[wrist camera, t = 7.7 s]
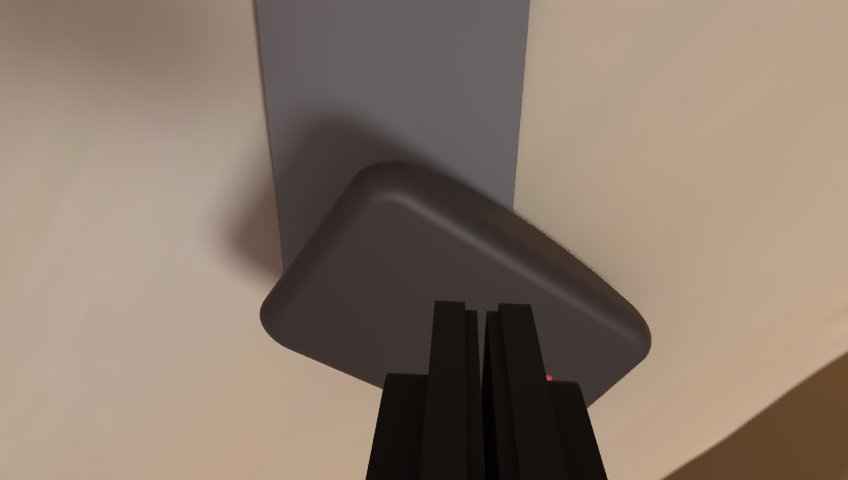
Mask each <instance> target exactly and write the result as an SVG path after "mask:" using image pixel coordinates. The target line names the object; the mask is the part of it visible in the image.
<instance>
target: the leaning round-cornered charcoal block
mask: <svg viewBox="0 0 848 480" xmlns="http://www.w3.org/2000/svg"><path fill="white" fill-rule="evenodd" d="M435 300H436V301H460V302H465V310H477V317H478V338H479V359H480V380H481V382H482V367H483V352H484V337H485V322H486V312H487V311H498V305H499V303H510V304H530V305H531V308H532V312H533V317H534V321H535V326H536V331H537V335H538V340H539V344H540V349H541V354H542V358H543V363H544V368H545V372H546V377H547V380H552V381H573V382H577V383H578V384H579V386H580V388H581V391H582V394H583V398H584V401H585V405H586V408H588V407H589V406H590V405H592V404H593V403H594V402H595V401H596V400H597V399H599V398H600V397H601V396H602V395H603V394H604V393H606V392H607V391H608V390H609V389H610V388H611V387H612V386H614V385H615V384H616V383H617V382H618V381H619V380H621V379H622V378H623V377H624V376H625V375H626V374H628V373H629V372H630V371H631V370H632V369H633V368H635V367H636V366H637V365H638V364H639V363H640V362H641V361H643V360H644V359H645V358H646V356H647V355H648V353H649V351H650V348H651V333H650V330H649V327H648V325H647V323H646V321H645V320H644V318H643V317H642V316H641V314H640V313H639V312H638V311H637V309H636V308H635V307H634V306H633V305H632V304H630V303H629V302H628V301H627V300H626V299H625V298H624V297H623V296H621V295H620V294H619V293H618V292H617V291H616V290H615V289H613V288H612V287H611V286H610V285H609V284H608V283H606V282H605V281H604V280H603V279H602V278H600V277H599V276H598V275H597V274H595V273H594V272H593V271H592V270H591V269H589V268H588V267H587V266H586V265H584V264H583V263H582V262H580V261H579V260H578V259H577V258H575V257H574V256H573V255H571V254H570V253H569V252H567V251H566V250H565V249H563V248H562V247H561V246H559V245H558V244H557V243H555V242H554V241H553V240H551V239H550V238H548V237H547V236H546V235H544V234H543V233H541V232H540V231H538V230H537V229H536V228H534V227H533V226H531V225H530V224H528V223H527V222H525V221H524V220H522V219H521V218H519V217H518V216H516V215H514V214H513V213H511V212H510V211H508V210H506V209H505V208H503V207H502V206H500V205H498V204H497V203H495V202H493V201H492V200H490V199H488V198H486V197H485V196H483V195H481V194H479V193H477V192H476V191H474V190H472V189H470V188H468V187H466V186H464V185H462V184H460V183H458V182H456V181H454V180H452V179H450V178H448V177H446V176H443V175H441V174H439V173H437V172H434V171H432V170H429V169H427V168H424V167H421V166H418V165H416V164H412V163H409V162H405V161H399V160H389V161H382V162H378V163H375V164H372V165H369V166H367V167H365V168H363V169H362V170H361V171H359V172H358V173H357V174H356V175H355V176H354V178H353V179H352V180H351V182H350V183H349V184H348V186H347V187H346V188H345V190H344V191H343V193H342V194H341V195H340V197H339V198H338V199H337V201H336V202H335V204H334V205H333V206H332V208H331V209H330V211H329V212H328V213H327V215H326V216H325V217H324V219H323V220H322V222H321V223H320V224H319V226H318V227H317V228H316V230H315V231H314V233H313V234H312V235H311V237H310V238H309V239H308V241H307V242H306V244H305V245H304V246H303V248H302V249H301V250H300V252H299V253H298V255H297V256H296V257H295V259H294V260H293V261H292V263H291V264H290V266H289V267H288V268H287V270H286V271H285V272H284V274H283V275H282V277H281V278H280V279H279V281H278V282H277V283H276V285H275V286H274V288H273V289H272V290H271V292H270V293H269V294H268V296H267V297H266V299H265V300H264V302H263V303H262V306H261V309H260V320H261V323H262V326H263V327H264V329H265V330H266V332H267V333H268V334H269V335H270V336H271V337H272V338H273V339H274V340H275V341H276V342H278V343H279V344H280V345H282V346H284V347H286V348H288V349H290V350H292V351H295V352H297V353H299V354H302V355H304V356H306V357H309V358H311V359H313V360H316V361H318V362H320V363H323V364H325V365H327V366H330V367H332V368H334V369H337V370H339V371H341V372H344V373H346V374H348V375H351V376H353V377H355V378H358V379H360V380H362V381H365V382H367V383H369V384H372V385H374V386H376V387H379V388H381V389H383V387H384V382H385V378H386V375H387V373H404V374H425V375H428V373H429V361H430V349H431V338H432V326H433V314H434V303H435Z"/></svg>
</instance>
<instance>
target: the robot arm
mask: <svg viewBox="0 0 848 480" xmlns="http://www.w3.org/2000/svg"><path fill="white" fill-rule="evenodd" d="M366 480H608V479H607V476H606V472H605V469H604V466H603V462H602V459H601V455H600V452H599V449H598V445H597V442H596V438H595V435H594V432H593V428H592V425H591V421H590V418H589V415H588V411H587V408H586V405H585V401H584V398H583V394H582V391H581V388H580V386H579V384H578V383H577V382H573V381H552V380H547V377H546V372H545V368H544V363H543V358H542V354H541V349H540V344H539V340H538V335H537V331H536V326H535V321H534V317H533V312H532V308H531V305H530V304H510V303H499V305H498V311H487V312H486V322H485V337H484V352H483V367H482V382H481V380H480V359H479V338H478V317H477V310H465V302H460V301H436V300H435V303H434V314H433V326H432V338H431V349H430V361H429V373H428V375H425V374H404V373H387V375H386V378H385V382H384V387H383V393H382V398H381V403H380V408H379V413H378V418H377V423H376V429H375V434H374V439H373V444H372V449H371V454H370V460H369V465H368V470H367V475H366Z"/></svg>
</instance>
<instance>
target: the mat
mask: <svg viewBox="0 0 848 480" xmlns="http://www.w3.org/2000/svg"><path fill="white" fill-rule="evenodd" d="M529 5H530V0H256V8H257V17H258V27H259V36H260V46H261V56H262V65H263V75H264V84H265V94H266V103H267V113H268V122H269V132H270V142H271V151H272V161H273V170H274V180H275V189H276V199H277V208H278V218H279V228H280V237H281V247H282V256H283V266H284V272H285V271H286V270H287V268H288V267H289V266H290V264H291V263H292V261H293V260H294V259H295V257H296V256H297V255H298V253H299V252H300V250H301V249H302V248H303V246H304V245H305V244H306V242H307V241H308V239H309V238H310V237H311V235H312V234H313V233H314V231H315V230H316V228H317V227H318V226H319V224H320V223H321V222H322V220H323V219H324V217H325V216H326V215H327V213H328V212H329V211H330V209H331V208H332V206H333V205H334V204H335V202H336V201H337V199H338V198H339V197H340V195H341V194H342V193H343V191H344V190H345V188H346V187H347V186H348V184H349V183H350V182H351V180H352V179H353V178H354V176H355V175H356V174H357V173H358V172H359V171H361V170H362V169H363V168H365V167H367V166H369V165H372V164H375V163H378V162H382V161H389V160H399V161H405V162H409V163H412V164H416V165H418V166H421V167H424V168H427V169H429V170H432V171H434V172H437V173H439V174H441V175H443V176H446V177H448V178H450V179H452V180H454V181H456V182H458V183H460V184H462V185H464V186H466V187H468V188H470V189H472V190H474V191H476V192H477V193H479V194H481V195H483V196H485V197H486V198H488V199H490V200H492V201H493V202H495V203H497V204H498V205H500V206H502V207H503V208H505V209H506V210H508V211H510V212H511V213H513V202H514V189H515V177H516V165H517V153H518V140H519V128H520V116H521V103H522V91H523V79H524V67H525V54H526V42H527V30H528V17H529Z"/></svg>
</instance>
